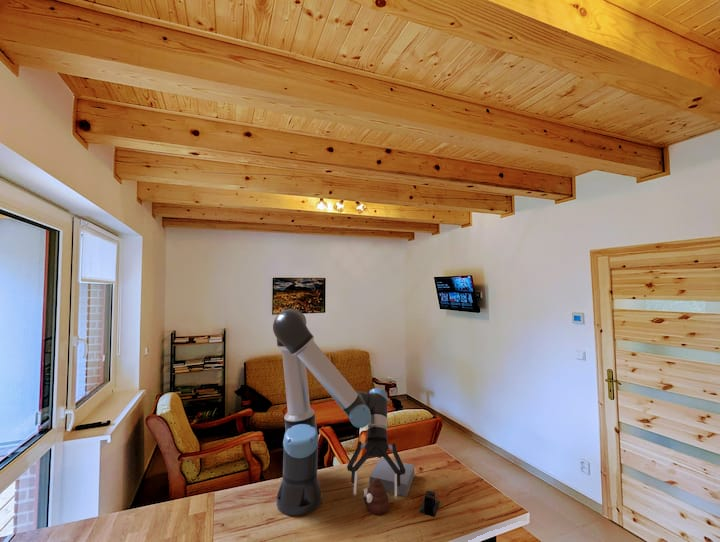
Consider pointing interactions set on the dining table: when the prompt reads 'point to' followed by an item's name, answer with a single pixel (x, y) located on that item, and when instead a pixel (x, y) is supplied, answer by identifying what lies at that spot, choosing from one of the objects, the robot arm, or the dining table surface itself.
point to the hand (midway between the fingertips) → (375, 496)
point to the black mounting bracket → (429, 504)
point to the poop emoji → (376, 498)
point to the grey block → (392, 477)
